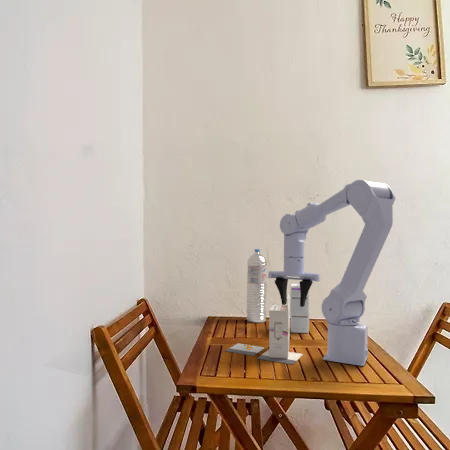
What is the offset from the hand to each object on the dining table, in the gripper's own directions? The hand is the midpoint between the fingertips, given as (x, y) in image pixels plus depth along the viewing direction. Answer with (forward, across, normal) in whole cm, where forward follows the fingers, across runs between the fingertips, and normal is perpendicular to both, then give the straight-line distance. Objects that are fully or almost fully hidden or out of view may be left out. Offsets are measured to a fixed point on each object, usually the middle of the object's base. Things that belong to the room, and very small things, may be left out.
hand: (293, 305), depth 112 cm
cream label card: (+10, -1, +14) cm, 17 cm away
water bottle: (+11, +19, -20) cm, 30 cm away
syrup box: (+11, +2, -14) cm, 18 cm away
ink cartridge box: (+10, 0, +12) cm, 16 cm away
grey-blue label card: (+10, +9, +13) cm, 19 cm away
